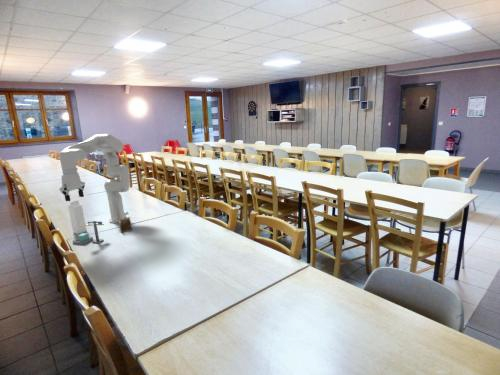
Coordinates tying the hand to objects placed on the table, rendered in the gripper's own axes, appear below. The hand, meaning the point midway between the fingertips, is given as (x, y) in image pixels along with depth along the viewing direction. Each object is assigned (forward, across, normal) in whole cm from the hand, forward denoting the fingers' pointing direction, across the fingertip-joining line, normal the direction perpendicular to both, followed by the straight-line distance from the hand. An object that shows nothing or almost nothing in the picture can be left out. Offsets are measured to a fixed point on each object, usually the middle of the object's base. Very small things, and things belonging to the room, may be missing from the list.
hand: (75, 198), depth 187 cm
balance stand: (+28, -2, +10) cm, 30 cm away
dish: (+28, 0, 0) cm, 28 cm away
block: (+27, 0, +1) cm, 27 cm away
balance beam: (+17, -1, +10) cm, 20 cm away
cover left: (+25, -21, +16) cm, 36 cm away
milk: (+28, -14, -18) cm, 36 cm away
